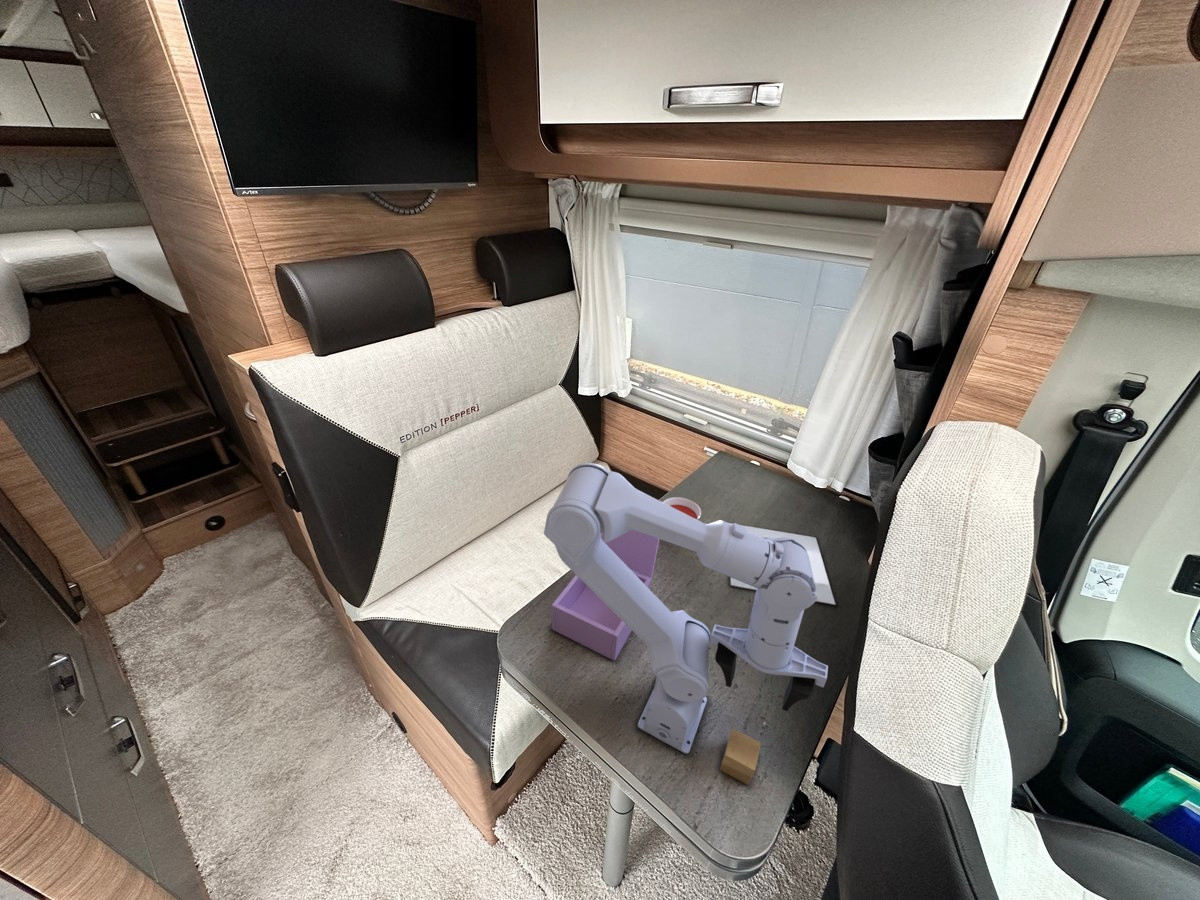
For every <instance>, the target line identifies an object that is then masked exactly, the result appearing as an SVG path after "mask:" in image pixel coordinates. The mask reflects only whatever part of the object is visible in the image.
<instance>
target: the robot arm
mask: <svg viewBox="0 0 1200 900" xmlns="http://www.w3.org/2000/svg"><path fill="white" fill-rule="evenodd" d="M663 502H664V501H661V500H659V499H657V498H655V497H652V496H651V495H649V494H647V493H645V492H643V491H641V490H639V489H637V488H635V487H634V485H632V484H631V483H630V482H629V481H628V480H627V479H626V478H625V477H624V476H623V475H622V474H620V473H619V472H617V471H613V470H610V471H609V470H608V469H607V468H605V467H604V466H602V465H600V464H597V463H593V462H583V463H579V464H577V465H575V466H574V467H573V468H572V469H571V470H570V471H569V473H568V475H567V478H566V481H565V483H564V485H563V487H562V489H561V490H560V492H559V494H558V496H557V498H556V500H555V501H554V504H553V505H552V507H551V508H550V509H549V511H548V513H547V515H546V519H545V523H544V524H545V525H544V531H543V535H544V536H545V537H546V538H547V539H548V540H549V541H550V542H551V543H552V544H553V545H554V548H555V550H556V553H557V554H558V557H559V559H560V560H561V561H562V562H563V564H564V565H566V567H567V568H568V569H570V570H571V571H572V573H574V575H577V576H578V577H579V578H580V579H581V580H582V581H583V582H584V583H585V584H586V585H587V586H588V587H589V588H590V589H591V590H592V591H593V592H594V593H595V594H596V595H597V596H598V597H599V598H600V599H601V600H602V601H603V602H604V603H605V604H606V605H607V606H608V607H609V608H610V609H611V610H612V611H613V612H614V613H615V614H616V615H617V616H618V617H619V618H620V619H621V620H622V621H623V622H624V623H625V624H626V625H627V626H628V627H629V628H630V629H631V630H632V631H631V632H633V633H634V634H635V635H636V636H637V637H639V639H640V640H641V641H642V642H643V643H644V644H645V646H646V649H647V653H648V658H649V664H650V668H651V671H652V673H653V675H655V683H654V687H653V689H652V691H651V694H650V696H649V698H648V700H647V703H646V705H645V707H644V708H643V711H642V713H641V716H640V718H639V720H638V722H637V728H638V729H640V730H642V731H643V732H645V733H647V734H649V735H651V736H652V737H654V738H656V739H658V740H660V741H661V742H663V743H664V744H667V745H669V746H670V747H672V748H674V749H676V750H678V751H680V752H681V753H683V754H686V755H687V754H689V753H690V750H691V748H692V745H693V742H694V739H695V736H696V733H697V731H698V727H699V725H700V722H701V719H702V716H703V713H704V710H705V707H706V705H707V701H708V697H706V696H708V693H709V689H710V688H709V679H710V678H709V677H710V676H709V658H710V657H709V654H710V653H709V652H710V645H712V646H714V647H717V648H716V652H715V655H714V658H715V662H716V664H717V665H718V666H719V667H720V668H721V671H722V673H723V677H724V681H725V686H726V687H728V688H731V687H732V684H733V681H734V676H735V674H736V666H737V657H739V658H740V659H742V660H743V661H744V662H746V663H747V664H748V665H750V666H751V667H753V668H754V669H756V670H757V671H759V672H761V673H765V674H768V675H776V676H777V675H778V676H787V677H790V680H789V682H788V685H787V688H786V689H785V693H784V697H783V701H782V707H781V710H783V711H785V712H788V711H789V709H790V708H792V706H794V705H795V704H796V703H798V702H801V701H803V700H809V699H810V698H811V697H812V695H813V693H814V687H815V685H816V686H818V687H820V688H823V689H824V687H825V684H826V682H827V680H828V673H829V665H827V664H824V663H822V662H821V661H818V660H816V659H815V658H813V657H811V656H810V655H809V654H807V653H805V652H804V651H803V650H801V649H800V648H798V647H796V646H795V643H796V640H797V637H798V633H799V630H800V626H801V623H802V620H803V617H804V613H805V610H806V609H808V608H810V607H811V606H813V605H814V604H815V603H816V599H817V596H816V595H815V591H816V587H815V582H814V577H813V573H812V568H811V564H810V559H809V556H808V553H807V551H806V549H805V548H804V546H803V545H801V544H800V543H798V542H796V541H795V540H794V539H792V538H786V537H780V538H769V537H765V538H764V537H760V536H758V535H755V534H753V533H750V532H748V531H746V530H744V526H745V525H743V526H741V525H742V524H739V523H736V522H734V523H731V524H729V523H730V522H727V521H725V520H722V519H721V520H716V521H712V522H710V523H705V522H703V521H701V520H697V519H695V518H693V517H691V516H689V515H687V514H685V513H683V512H681V511H679V510H677V509H675V508H673V507H671V506H669V505H667V504H665V503H663ZM732 524H733V525H732ZM631 530H634V531H637V532H640V533H643V534H646V535H649V536H652V537H655V538H658V539H659V540H661V541H664V542H667V543H670V544H672V545H675V546H678V547H680V548H681V547H682V548H684V549H688V550H690V551H693V552H695V553H696V555H697V557H698V559H699V561H700V563H701V564H702V566H704V567H705V568H708V569H710V570H713V571H715V572H716V573H717V572H718V573H719V574H722V575H724V576H726V577H728V578H730V577H731V578H734V579H736V580H738V581H741V582H743V583H745V584H748V585H750V586H752V587H755V588H757V590H755V594H754V598H753V604H752V608H751V613H750V617H749V622H748V626H747V628H739V627H738V628H737V627H729V626H722V625H719V624H716V623H715V624H714V626H713V627H712V630H711V632H710V630H709V628H708V626H707V625H706V624H704V623H703V622H702V621H700V620H698V619H695V618H693V617H691V616H690V615H689V614H688V613H687V612H686V611H685V610H684V609H680V610H674V611H671V610H670V609H669V608H668V607H667V605H665V603H663V602H662V600H661V599H659V597H658V596H657V595H655V594H654V592H653V591H652V590H651V588H650V589H649V588H648V587H647V586H646V585H645V584H644V583H643V582H642V581H641V580H640V579H639V578H638V577H637V576H636V575H635V574H634V573H633V572H632V571H633V570H632V571H631V569H629V568H628V567H627V565H626V564H625V563H624V562H623V561H622V560H621V559H620V558H619V557H618V556H617V555H616V554H615V553H614V552H613V551H612V550H611V549H610V548H609V547H608V546H607V545H606V544H605V543H604V542H609V541H611V540H613V539H615V538H617V537H619V536H621V535H623V534H625V533H626V532H628V531H631ZM602 533H605V534H604V541H603V540H602V539H601V534H602ZM731 578H730V579H731Z"/></svg>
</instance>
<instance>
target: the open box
mask: <svg viewBox="0 0 1200 900" xmlns="http://www.w3.org/2000/svg"><path fill="white" fill-rule="evenodd" d="M630 570H631V569H630ZM631 571H632V572H633V573H634V574H635V575H636V576H637V577H638V578H639V579H640V580H641V581H642V582H643V583H644V584H645V585H646V586H647V587H648V588H649V589H650V590H651V586H652V580H653V579H652V578H651V577H648V576H646V575H643V574H641V573H639V572H636V571H634V570H631ZM551 630H553V631H554V632H556V633H558V634H560V635H562V636H564V637H566V638H568V639H570V640H572V641H575V642H576V643H578V644H579V645H582V646H584V647H586V648H588V649H590V650H591V651H594V652H596V653H598V654H600V655H602V656H604V657H606V658H608V659H610V660H612V661H614V662H615V661H616V659H617V658H618V656H619V654H620V652H621V651H622V649H623V647H624V645H625V643H626V642H627V640H628V638H629V636H630V635H631V633H632V632H633V631H632V630H631V629H630V628H629V627H628V626H627V625H626V624H625V623H624V622H623V621H622V620H621V619H620V618H619V617H618V616H617V615H616V614H615V613H614V612H613V611H612V610H611V609H610V608H609V607H608V606H607V605H606V604H605V603H604V602H603V601H602V600H601V599H600V598H599V597H598V596H597V595H596V594H595V593H594V592H593V591H592V590H591V589H590V588H589V587H588V586H587V585H586V584H585V583H584V582H583V581H582V580H581V579H580V578H579V577H578V576H577V575H576V574H574V577H573V578H571V580H570V581H569V583H568V584H567V585H566V587H564V589H563V590H562V592H561V593H560V594H559V595H558V596H557V598H556V599H555V600H554V601H553V603H552V604H551Z"/></svg>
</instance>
